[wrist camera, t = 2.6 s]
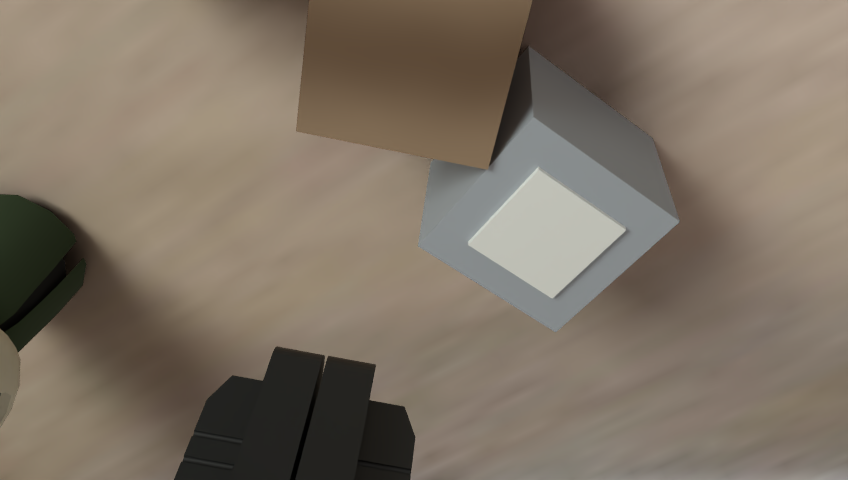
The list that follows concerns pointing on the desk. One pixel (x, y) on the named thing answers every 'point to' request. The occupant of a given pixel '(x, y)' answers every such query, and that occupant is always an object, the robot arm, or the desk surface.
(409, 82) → the walnut block
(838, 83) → the desk surface
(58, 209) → the desk surface
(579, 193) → the grey block
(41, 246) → the character mug
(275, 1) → the desk surface
